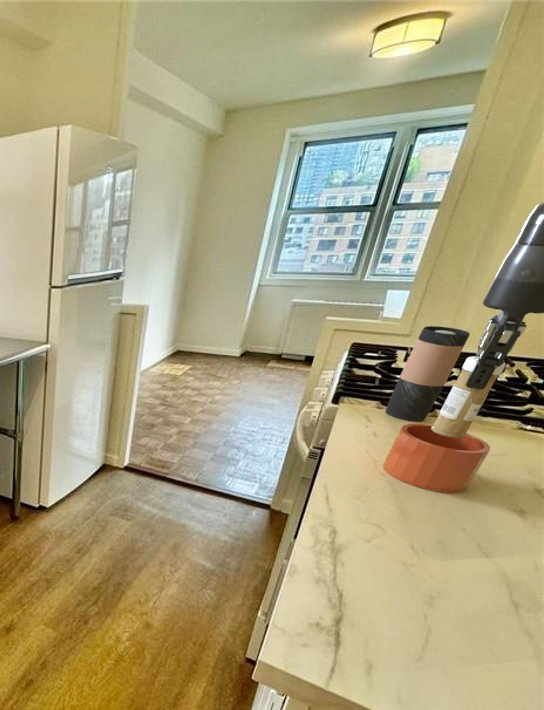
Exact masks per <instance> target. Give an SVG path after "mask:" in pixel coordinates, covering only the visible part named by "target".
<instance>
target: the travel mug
mask: <svg viewBox="0 0 544 710" xmlns="http://www.w3.org/2000/svg"><path fill="white" fill-rule="evenodd" d="M470 335H471V333H470V332H469V331H467V330H463V329H459V328H455V327H447V326H438V325H437V326H434V325H430V326H429V325H428V326H425V327H423V328H422V330H421V331H420V334H419V336H418V338H417V339H416V342H415V344H414V346H413V348H412V350H411V352H410V354H409V356H408V359H407V361H406V362H405V364H404V367H403V369H402V371H401V373H400V375H399V377H398V380H397V382H396V385H395V387H394V390H393V392H392V394H391V396H390V398H389V401H388V404H387V406H386V409H385V413H386V415H389V416H390V417H392V418H396V419H399V420H403V421H409V422H423V421H425V420H426V418H427V417H428V415H429V414H430V411H431V410H432V409H433V406H434V404H435V403H436V401H437V399H438V397H440V396H439V395H440V394H441V392H442V391H443V389H444V386H445V385H446V383H447V381H448V379H449V377H450V375H451V373H452V371H453V369H454V367H455V365H456V363H457V361H458V359H459V356H460V355H461V353H462V351H463V349H464V348H465V345H466V343H467V341H468V339H469V337H470Z"/></svg>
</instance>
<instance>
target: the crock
mask: <svg viewBox="0 0 544 710" xmlns="http://www.w3.org/2000/svg"><path fill="white" fill-rule="evenodd" d="M433 425H434V424H430V423H408V424H404V425H402V426H401V428H400V430H399V431H398V433H397V435H396V438H395V440H394V442H393V444H392V446H391V448H390V450H389V452H388V454H387V455H386V458H385V460H384V462H383V465H382V468H383V469H384V471H385V472H386V473H387V474H388V475H390V476H391V477H393V478H395V479H396V480H398V479H399V480H398V481H401V480H402V481H401V482H403V481H405V482H406V483H405V482H404V483H405V484H408V483H409V484H408V485H410V484H411V485H410V486H413V485H414V486H413V487H416V486H419V487H422V488H421V489H423V488H426V489H425V490H427V489H430V490H429V491H431V490H435V491H434V492H436V491H439V492H438V493H444V492H446V493H445V494H458V493H462V492H464V491H466V490H467V488H469V486H470V484H471V482H472V481H473V480H474V477H475V476H476V474H477V473H478V471H479V469H480V467H481V466H482V464H483V462H484V461H485V459H486V458H487V456H488V454H489V453H490V450H491V445H490V444H488V442H486V441H484V440H483V439H481V438H480V437H477V436H475V435H473V434H470V433H468V432H466V436H465V437H463V438H451V437H446V436H442V435H439V434H437V433H435V432H434V431H432V430H431V427H432V426H433ZM419 487H418V488H419Z"/></svg>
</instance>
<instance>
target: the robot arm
mask: <svg viewBox="0 0 544 710" xmlns="http://www.w3.org/2000/svg"><path fill="white" fill-rule="evenodd" d="M482 305H483V306H484V307H486V308H488V309H492V310H498V311H499V310H500V311H499V313H498V314H495V315H494V316H492V317H490V318H489V319H488V321H487V323H486V325H485V328H484V329H485V330H484V332H483V334H482V335H481V337H480V339H479V342H478V343H479V345H478V346H477V350H476V352H475V356H476V357H479V359H477V360H476V366H475V368H474V370H473V372H472V373H471V375H470V377H469V379H468V381H467V383H466V386H467V387H468V388H474V389H480V390H481V389H484V388H485V387H486V385H487V383H488V381H489V379H490V378H491V376H492V374H493V372H494V371H495V369H496V368H498V367H500V366H501V365H502V364H503V363H504V362H505V359H506V358H507V356H508V354H509V353H511V352H512V351H513V349H514V347H515V345H516V343H517V341H518V339H519V338H520V337H521V335H523V334H524V333H525V330H526V328H527V324H526V321H524V319H525V316H526V315H529V314H544V201H542V202H541V203H539V204H537V205H536V206H535V208H534V209H533V210H532V212H531V213H530V214H529V216H528V218H527V220H526V221H525V223H524V225H523V227H522V229H521V232H520V234H519V235H518V237H517V239H516V240H515V243H514V245H513V246H512V248H511V249H510V251H509V252H508V253H507V255H506V256H505V258H504V259H503V262H502V264H501V266H500V267H499V270H498V272H497V273H496V275H495V277H494V279H493V281H492V283H491V285H490V287H489V288H488V291H487V293H486V294H485V297H484V299H483V301H482Z"/></svg>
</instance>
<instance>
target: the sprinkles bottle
mask: <svg viewBox="0 0 544 710" xmlns="http://www.w3.org/2000/svg"><path fill="white" fill-rule="evenodd" d="M477 359H479V357H477V356H476V355H475V356H473V355H472V356H469V357H467V358H466V359H465V361H464V363H463V365H462V368H461V372H460V374H459V376H458V377H457V379H456V381H455V383H454V384H453V386H452V388H451V389H450V392H449V393H448V395H447V397H446V399H445V401H444V403H443V405H442V407H441V409H440V410H439V414H438V416H437V418H436V420H435V422H434V424H432V425H433V426H432V427H431V430H432V431H434V432H435V433H437V434H439V435H442V436H446V437H451V438H463V437H465V436H466V433H468V430H469V428H470V427H471V425H472V423H473V422H474V420H475V419H476V417H477V415H478V413H479V411H480V410H481V407H482V406H483V404H484V402H485V400H486V399H487V397H488V396H489V395H488V394H489V392H490V390H491V389H492V387H493V386H494V383H495V382H496V379H497V378H498V377H499V376H500V375H502V373H503V371H504V369H505V367H506V365H507V363H506V362H505V361H503V362H504V363H503V364H502V365H501V366H500V367H498V368H496V369H495V371H494V372H493V374H492V376H491V378H490V379H489V381H488V383H487V385H486V387H485V388H484V389H481V390H480V389H474V388H468V387H467V386H466V383H467V381H468V379H469V377H470V375H471V373H472V372H473V370H474V368H475V366H476V360H477Z"/></svg>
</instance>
